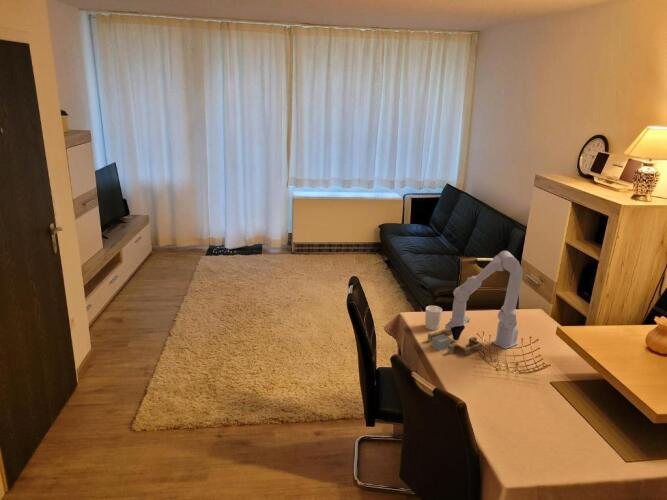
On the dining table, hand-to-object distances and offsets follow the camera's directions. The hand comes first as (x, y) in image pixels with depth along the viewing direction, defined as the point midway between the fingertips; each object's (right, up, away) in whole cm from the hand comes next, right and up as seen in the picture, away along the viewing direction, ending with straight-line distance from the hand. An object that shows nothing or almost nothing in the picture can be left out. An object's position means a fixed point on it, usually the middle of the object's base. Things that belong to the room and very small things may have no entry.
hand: (455, 339), depth 231 cm
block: (-8, -2, -5) cm, 10 cm away
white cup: (-8, +3, +13) cm, 16 cm away
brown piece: (-1, -2, -3) cm, 3 cm away
